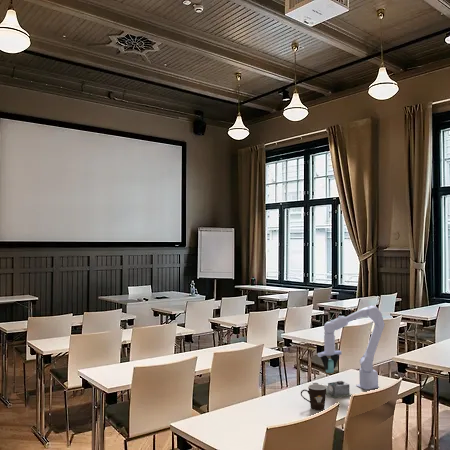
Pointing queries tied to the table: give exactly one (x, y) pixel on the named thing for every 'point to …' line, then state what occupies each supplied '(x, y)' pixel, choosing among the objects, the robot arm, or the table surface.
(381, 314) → the robot arm
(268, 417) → the table surface
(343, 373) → the table surface
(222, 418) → the table surface
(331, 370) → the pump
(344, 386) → the motor
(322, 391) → the coffee mug
